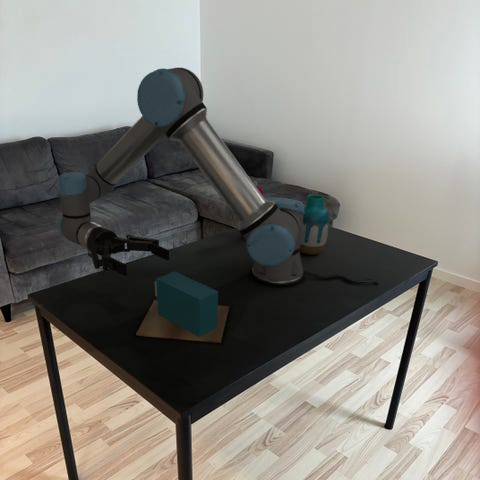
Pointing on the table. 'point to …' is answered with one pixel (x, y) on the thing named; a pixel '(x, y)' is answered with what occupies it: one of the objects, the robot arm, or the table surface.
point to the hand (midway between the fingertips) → (147, 262)
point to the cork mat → (167, 329)
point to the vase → (314, 225)
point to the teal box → (187, 303)
